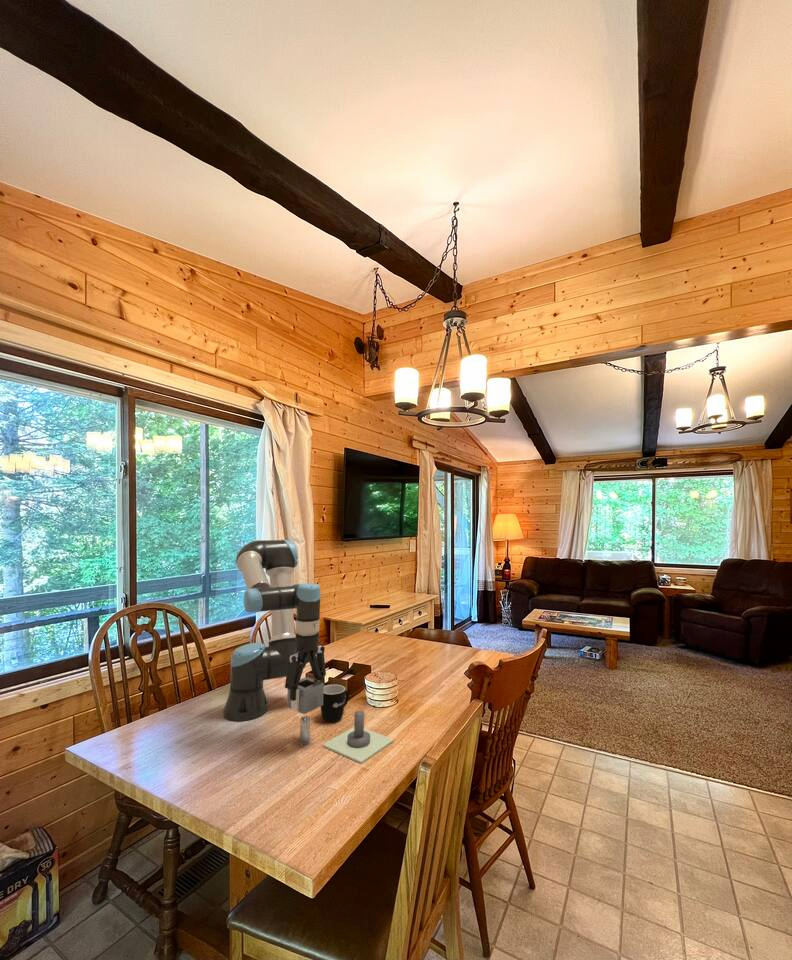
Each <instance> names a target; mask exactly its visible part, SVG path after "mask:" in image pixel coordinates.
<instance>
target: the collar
mask: <svg viewBox="0 0 792 960" xmlns="http://www.w3.org/2000/svg"><path fill="white" fill-rule="evenodd" d="M314 679H315V678H311V677H308V676H306V677H303V678H300V681H299V684H298V688H297V689H299V711H297V712H298V713H300V714H303V715H306V714H307V713H310V712H312V711H314V710H316V709H318V708H321V706H322V705H323V690H324V686H325V685H324V684H325V683H324V682H322V681H321V682H320V681H317V680H314ZM286 700H287V702H286V705H287V706H286V707H287V708H289V709H291V700H290V690H289V689H287V699H286Z"/></svg>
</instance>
